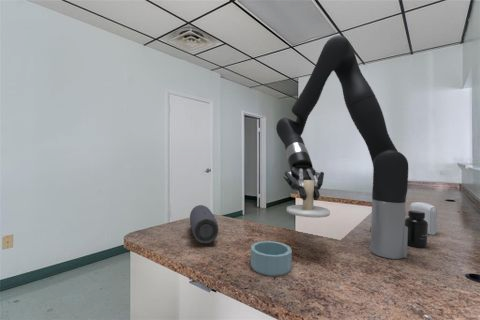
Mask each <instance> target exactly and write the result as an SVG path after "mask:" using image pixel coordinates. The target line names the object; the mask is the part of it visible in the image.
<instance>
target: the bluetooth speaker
mask: <svg viewBox="0 0 480 320" xmlns="http://www.w3.org/2000/svg"><path fill="white" fill-rule="evenodd" d="M189 214H190V215H189V226H190V230H191V232H192V235H193V237H194V238H195V240H196V241H197V242H199V243H200V244H210V243H212V242H214V240H216V239H217V237H218V235H219V225H218V221H217V219H216V217H215V215H214V214H213V212H212V211H211V210H210V208H209V207H207V206H205V205H203V204H200V205H196V206H193V208H192V209H191V211H190V213H189Z"/></svg>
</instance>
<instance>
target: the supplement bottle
mask: <svg viewBox="0 0 480 320" xmlns="http://www.w3.org/2000/svg"><path fill="white" fill-rule="evenodd" d="M407 213H408V215H407V216H408V217H405V226H407V227H408V240H407V246H410V247H413V248H418V249H423V248H427V247H428V236H429V234H428V223H427V221H426V220H424V218H425V213H424V212H421V211H413V210H410V209H409V210H408V212H407Z"/></svg>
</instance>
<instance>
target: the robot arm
mask: <svg viewBox="0 0 480 320" xmlns="http://www.w3.org/2000/svg"><path fill="white" fill-rule="evenodd" d="M314 65H315V66H314V68H313V70H312V72H311V74H310V76H309V78H308V80H307V82H306V84H305V86H304V87H303V89H302V91H301V92H300V94H299V96H298V98H297V99H296V101H295V102H294V104H293V106H292V108H291V112H292V114H293V115H294V116H296V120H295V121H294V120H292V119H290V118H289V117H282V118H280V119H279V120H278V121H277V124H276V126H275V127H276V128H275V129H276V133H277V136H278V137H279V139H280V141H281V142H282V144H283V145H284V148H285V151H286V159H287V161H288V166H289V170H290V171H287V170H286V171H285V172H284V174H283V179H284V180H285V181H286V182H287V184H288V186H289V187H290V188H291V189H292V190H297V191H298V194H299V198H300V199H302V201H303V200H306V198H307V195H306V192H305V188H304V187H303V181H304V180H314V201H318V200H319V198H320V195H321V194H320V191H319V190H320V189H321V188H322V186H323V183H324V175H325V172H323V171H320V172H318V171H316V170H315V168H314V167H313V163H312V160H311V157H310V155H309V152H308V151H309V150H308V149H307V147H306V144H305V141H304V139H303V137H302V134H303V133H304V130H305V127H306V123H307V121H308V118H309V115H310V114H311V113H312V111H313V110H314V109H315V106H317V103H318V101H319V100H320V98H321V94H322V92H323V90H324V87H325V85H326V83H327V81H328V79H329V76H331V74H332V73H333V72H334V73H335V76H336V77H337V78H338V80H339V83H340V86H341V89H342V95H343V100H344V104H345V106H346V109H347V112H348V113H349V116H350V118H351V120H352V122H353V124H354V126H355V128H356V129H357V131H358V132H359V134H360V135H361V138H362V139H363V141H364V143H365V145H366V147H367V149H368V153H369V156H370V159H371V162H372V167H373V168H372V171H373V172H372V173H373V174H372V189H371V190H372V192H371V194H372V195H371V199H372V200H371V225H370V227H371V231H370V244H369V245H370V248H369V249H370V252H371V253H372V254H374V255H376V256H378V257H382V258H386V259H392V260H399V259H403V258H404V259H408V245H407V240H408V227H407V226H405V219H406V203H407V202H406V200H407V194H408V187H409V186H408V185H409V183H408V182H409V161H408V159H407V157H406V156H405V155H404V154H403V153H402V152H400V151H398V150H397V148H396V145H395V143H394V142H393V140H392V139H391V137H390V134H389V131H388V128H387V124H386V120H385V117H384V113H383V110H382V108H381V105H380V103H379V101H378V98H377V96H376V94H375V92H374V91H373V88H372V87H371V86H370V84H369V82H368V81H367V80H366V78H365V76H364V75H363V74H362V70H361V69H360V66H359V63H358V60H357V57H356V54H355V49H354V47H353V45H352V44H351V42H350V41H349V40H348V38H347V37H346V36H343V35H334V36H331V37H330V38H329V39H328V40H327V41H326V42H325V44H324V46H323V48H322V50H321V51H320V55H319V56H318V59H317V61H316V64H314ZM316 181H317V182H316Z"/></svg>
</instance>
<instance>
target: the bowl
mask: <svg viewBox="0 0 480 320" xmlns="http://www.w3.org/2000/svg"><path fill="white" fill-rule="evenodd" d="M292 256H293V251H292V248H291V247H290V246H289V245H287V244H285V243H282V242H279V241H268V240H263V241H258V242H255V243H253V244H251V245H250V268H251V269H252V270H253V271H254V272H255V273H258V274H260V275H262V276H263V275H264V276H269V277H270V276H271V277H279V276H284V275H287V274H289V273H290V271H291V270H292V265H293V264H292V258H293V257H292Z"/></svg>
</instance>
